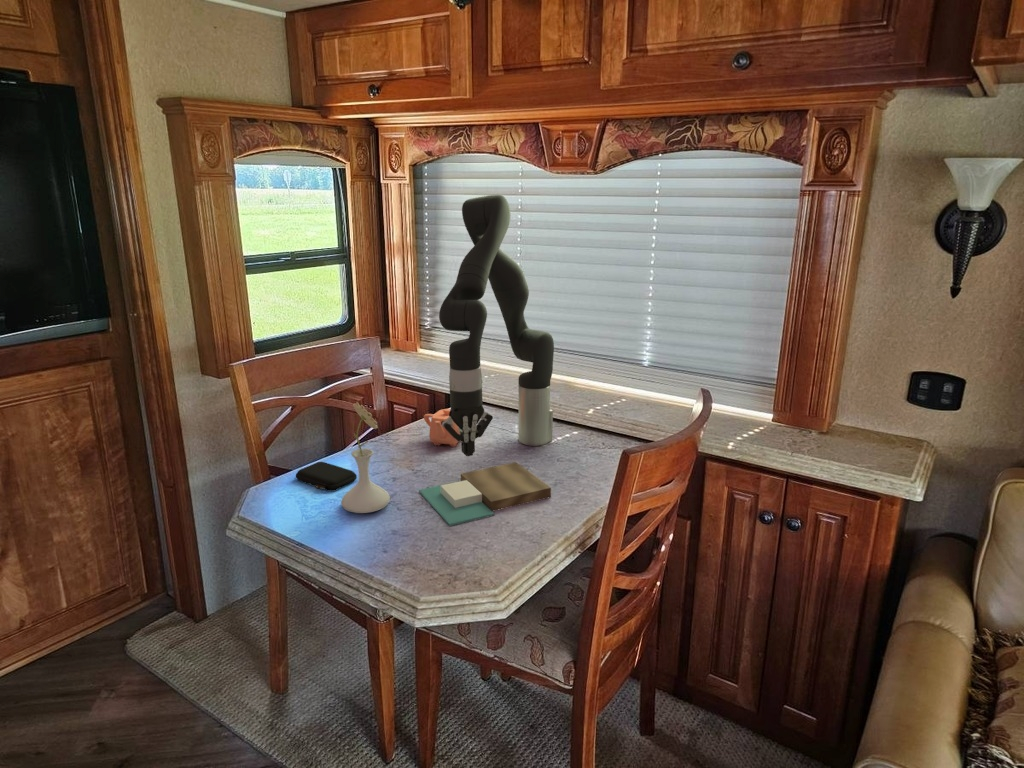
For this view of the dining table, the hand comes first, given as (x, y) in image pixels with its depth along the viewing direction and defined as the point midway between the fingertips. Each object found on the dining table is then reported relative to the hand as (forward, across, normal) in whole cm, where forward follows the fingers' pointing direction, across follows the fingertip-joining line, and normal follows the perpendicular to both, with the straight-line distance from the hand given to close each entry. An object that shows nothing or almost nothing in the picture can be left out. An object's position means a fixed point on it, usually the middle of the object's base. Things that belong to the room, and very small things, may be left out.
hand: (468, 454), depth 163 cm
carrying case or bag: (+12, +29, -27) cm, 41 cm away
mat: (+11, +4, +1) cm, 12 cm away
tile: (+11, +2, 0) cm, 11 cm away
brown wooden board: (+11, -10, 0) cm, 15 cm away
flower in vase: (+11, +23, -8) cm, 27 cm away
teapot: (+12, -10, -37) cm, 40 cm away
